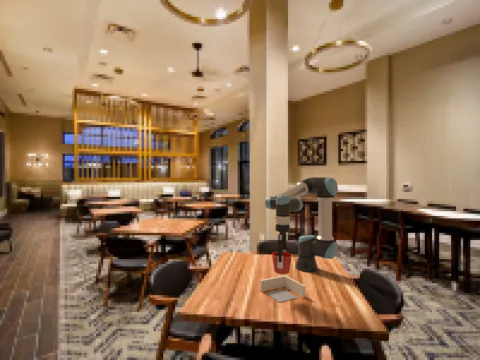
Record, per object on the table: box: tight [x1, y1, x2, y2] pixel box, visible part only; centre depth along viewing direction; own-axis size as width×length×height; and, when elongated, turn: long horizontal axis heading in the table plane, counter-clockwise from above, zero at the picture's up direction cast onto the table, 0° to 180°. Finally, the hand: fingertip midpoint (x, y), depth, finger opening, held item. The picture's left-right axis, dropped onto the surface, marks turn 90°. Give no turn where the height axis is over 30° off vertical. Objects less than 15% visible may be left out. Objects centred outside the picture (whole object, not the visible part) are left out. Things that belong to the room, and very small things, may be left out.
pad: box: [265, 288, 298, 303], centre depth 141 cm, size 12×12×1 cm
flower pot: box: [271, 251, 293, 275], centre depth 141 cm, size 11×11×10 cm
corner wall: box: [259, 274, 306, 298], centre depth 144 cm, size 18×18×6 cm
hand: (281, 264), depth 141 cm, fingers closed on flower pot, 11 cm apart
